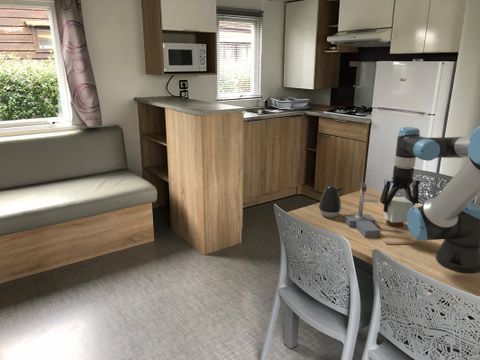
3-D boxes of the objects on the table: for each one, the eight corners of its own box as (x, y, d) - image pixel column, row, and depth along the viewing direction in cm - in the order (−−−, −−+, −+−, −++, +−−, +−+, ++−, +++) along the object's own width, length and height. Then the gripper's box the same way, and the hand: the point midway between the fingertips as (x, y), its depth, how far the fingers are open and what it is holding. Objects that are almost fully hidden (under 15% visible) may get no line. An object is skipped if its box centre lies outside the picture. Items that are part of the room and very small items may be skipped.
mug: (411, 231, 168) (414, 211, 165) (395, 232, 167) (398, 212, 164) (398, 221, 179) (400, 202, 176) (382, 221, 178) (385, 202, 176)
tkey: (374, 214, 177) (378, 182, 172) (377, 220, 169) (381, 188, 165) (357, 212, 178) (360, 181, 174) (358, 219, 171) (362, 186, 166)
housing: (385, 236, 162) (386, 229, 161) (358, 237, 161) (359, 229, 160) (368, 220, 180) (369, 212, 179) (343, 220, 179) (344, 213, 178)
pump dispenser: (342, 219, 180) (345, 189, 175) (320, 219, 180) (322, 188, 176) (337, 211, 190) (340, 182, 185) (316, 211, 190) (319, 182, 185)
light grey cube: (410, 222, 155) (413, 203, 153) (391, 222, 154) (394, 203, 152) (401, 214, 163) (403, 196, 160) (383, 214, 162) (385, 197, 160)
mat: (415, 244, 156) (415, 243, 156) (386, 244, 155) (387, 244, 155) (401, 231, 167) (401, 231, 167) (374, 232, 166) (374, 231, 166)
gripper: (424, 163, 156) (416, 215, 163) (374, 164, 155) (368, 216, 161) (434, 168, 149) (425, 222, 156) (383, 169, 148) (376, 223, 154)
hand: (396, 219), depth 159 cm, fingers closed on light grey cube, 8 cm apart
